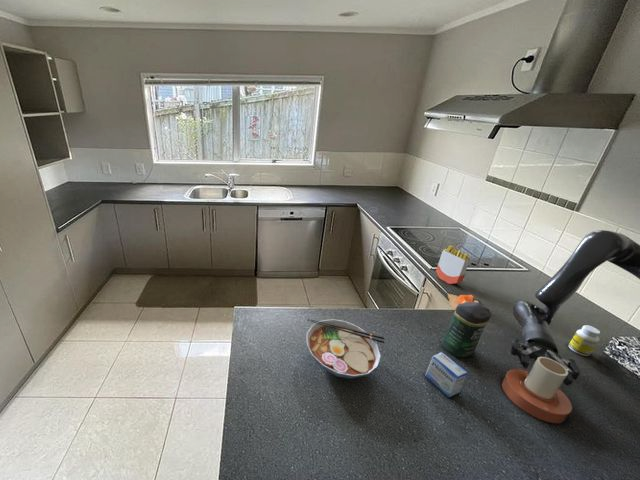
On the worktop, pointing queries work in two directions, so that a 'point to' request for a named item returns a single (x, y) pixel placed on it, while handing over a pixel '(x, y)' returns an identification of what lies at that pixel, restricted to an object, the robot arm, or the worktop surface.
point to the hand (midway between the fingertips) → (546, 374)
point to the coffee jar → (466, 328)
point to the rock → (459, 300)
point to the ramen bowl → (343, 348)
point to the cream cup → (545, 377)
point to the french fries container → (452, 265)
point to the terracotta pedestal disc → (535, 399)
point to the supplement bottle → (585, 340)
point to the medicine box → (446, 374)
